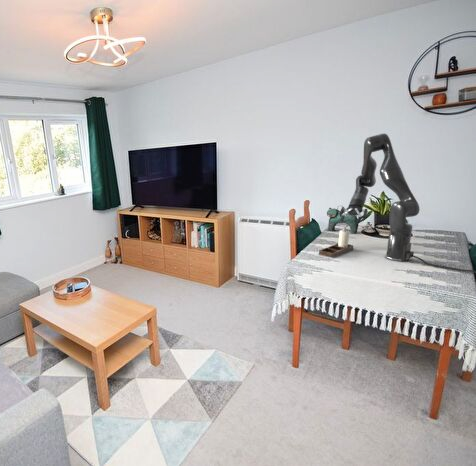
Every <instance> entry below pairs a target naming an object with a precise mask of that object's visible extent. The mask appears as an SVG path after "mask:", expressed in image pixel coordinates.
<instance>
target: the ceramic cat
mask: <svg viewBox="0 0 476 466" xmlns="http://www.w3.org/2000/svg"><path fill="white" fill-rule="evenodd" d="M339 207H341V208H342V207H344V206H343V205H337V208H332V207H329V208H328V210H327V211H326V216H327V217H329V218H328V224H327V231H328V232H333V231H336V230H335V229H336V226H337V225H338V224H344V225H348V227H349V229H350V234H353V235H356V234H357V233H358V229H359V224H357V220H358V215H348V216H346V217H345V218H344V221H343V222H341V220H340V219H341V216H340V215H339V213H340V211H341V210H339ZM346 211H347V210H345V211H344V212H343V213H345V212H346Z"/></svg>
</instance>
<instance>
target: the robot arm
mask: <svg viewBox="0 0 476 466" xmlns="http://www.w3.org/2000/svg"><path fill="white" fill-rule="evenodd" d="M379 151H382V152H383V161H382V163H381V166H380V169H379V175H380V178H381V180H382V182H383V184H384V185H385V186H386V187H387V188H388V189H389V190H391V191H392V192H393V193H394V194H395V195H396V196H397V198H398V201H395V202H393V203H392V204H391V205H390V208H389V218H388V223H389V224H388V225H389V232H388V233H389V234H388V241H387V246H386V254H385V258H386V259H388V260H391V261H395V262H406V261H408V260H410V259H411V258H415V259H417V260H420V261H421V262H422V263H423V264H425V265H427V266H431V267H438V268H443V269H448V270H453V271H460V272H469V273H474V274H476V270H473V269H463V268H455V267H450V266H445V265H439V264H432V263H430V262H426V261H425V260H424V259H423V258H420V257H419V256H416V255H415V252H414V251H411V249H412V242H411V239H412V234H413V233H412V232H413V225H412V223H409V222H407V218H412V217H413V218H414V217H416V216H418V215H419V213H420V210H421V209H420V205H419V203H418V201H417V199H416V198H415V196H414V194H413V192H412V191H411V188H410V187H409V184H408V182H407V180H406V178H405V175H404V172H403V170H402V168H401V166H400V164H399V161H398V159H397V156H396V154H395V151H394V148H393V145H392V141H391V139H390V137H389V135H388V134H387V133H379V134H376V135H372V136H369V137H366V138H365V140H364V141H363V161H362V163H363V164H362V168H361V172H360V175H358V176H357V177H356V178H355V190H354V192H353V195H352V196H351V199H350V201H349V204H348V207H344V206H343V207H342V206H341V208H340V210H339V211H340V213H339V215H340V216H341V219H340V220H341V222H343V221H344V218H345V217H346V216H348V215H357V219H358V220H357V224H358V225H359V224H360V223H361V222H362V220H363V219H364V220H365V219H367V216H368V212H369V210H368V208H365V209H363V208H364V206H365V203H366V200H367V197H368V194H369V192H370V191H369V188H372V187H374V186H375V185H376V183H377V178H376V170H377V166H378V164H377V161H376V160H375V159H374V157H373V156H372V153H376V152H379ZM344 211H346V212H345V213H343V212H344ZM361 213H363V214H362V215H361Z"/></svg>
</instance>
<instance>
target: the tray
mask: <svg viewBox="0 0 476 466" xmlns="http://www.w3.org/2000/svg"><path fill="white" fill-rule="evenodd" d="M353 250H354V245H353V244H349V243H348V247H347V248H344V247H340V246H338V243H335V244H332V245H330V246H327V247H324V248H322V249H319V251H318V255H320V256H324V257H328V258H335V257H337V256H340V255H343V254H346V253H348V252H350V251H353Z"/></svg>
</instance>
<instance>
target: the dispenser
mask: <svg viewBox="0 0 476 466" xmlns="http://www.w3.org/2000/svg"><path fill="white" fill-rule="evenodd" d="M339 226H340V227H343V228H341V229H340V230H339V233H338V243H337V244H338V246H340V247H344V248H347V247H348V244H349V240H350V239H349V238H350V230H348V227H349V225H348V224H344V223H340V225H339Z"/></svg>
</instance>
